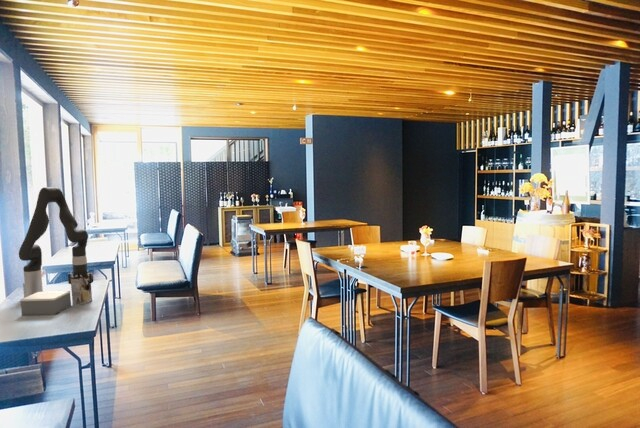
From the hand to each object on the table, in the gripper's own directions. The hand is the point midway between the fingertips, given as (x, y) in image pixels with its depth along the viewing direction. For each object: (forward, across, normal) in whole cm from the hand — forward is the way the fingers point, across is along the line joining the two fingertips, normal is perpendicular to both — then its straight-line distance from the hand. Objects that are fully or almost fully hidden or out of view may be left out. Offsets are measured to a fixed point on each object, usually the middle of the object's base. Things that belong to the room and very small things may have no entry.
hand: (81, 290), depth 262 cm
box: (+7, +12, +15) cm, 21 cm away
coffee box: (+8, 0, 0) cm, 8 cm away
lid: (-1, +12, +15) cm, 19 cm away
